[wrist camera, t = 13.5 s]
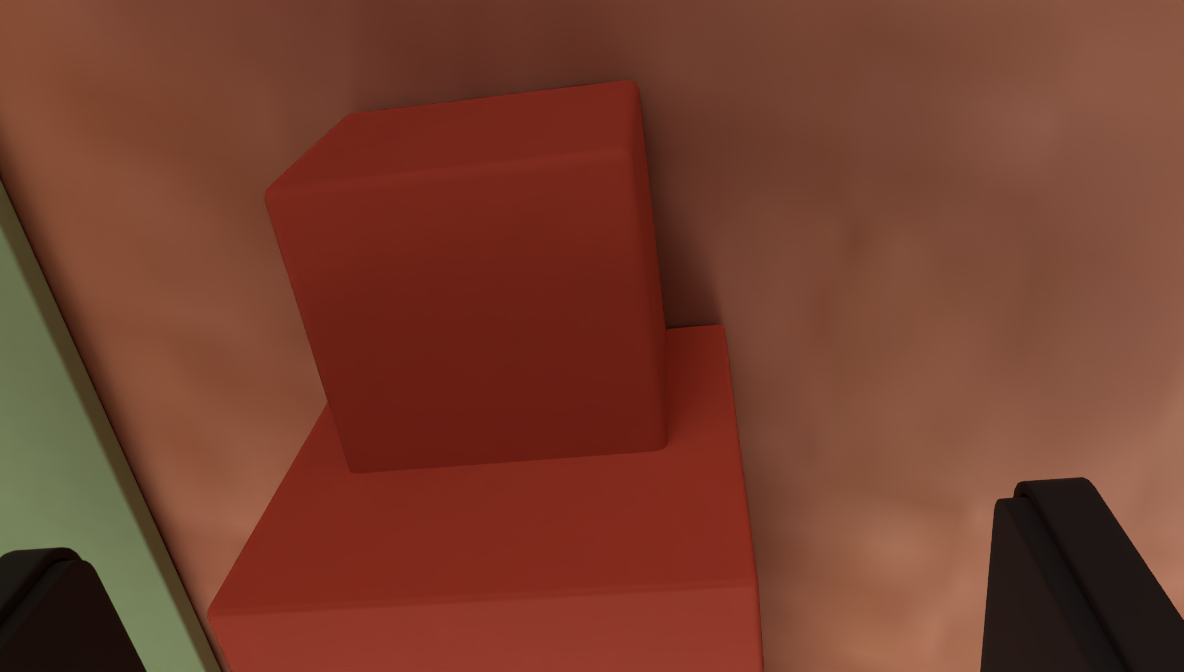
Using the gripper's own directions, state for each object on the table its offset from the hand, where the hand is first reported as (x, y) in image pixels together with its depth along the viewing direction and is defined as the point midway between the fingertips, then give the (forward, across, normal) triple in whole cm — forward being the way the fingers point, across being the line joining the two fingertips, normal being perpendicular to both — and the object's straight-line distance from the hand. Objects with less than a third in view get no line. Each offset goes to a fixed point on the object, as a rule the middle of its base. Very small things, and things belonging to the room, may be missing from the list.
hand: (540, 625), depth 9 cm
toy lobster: (+2, 0, 0) cm, 2 cm away
